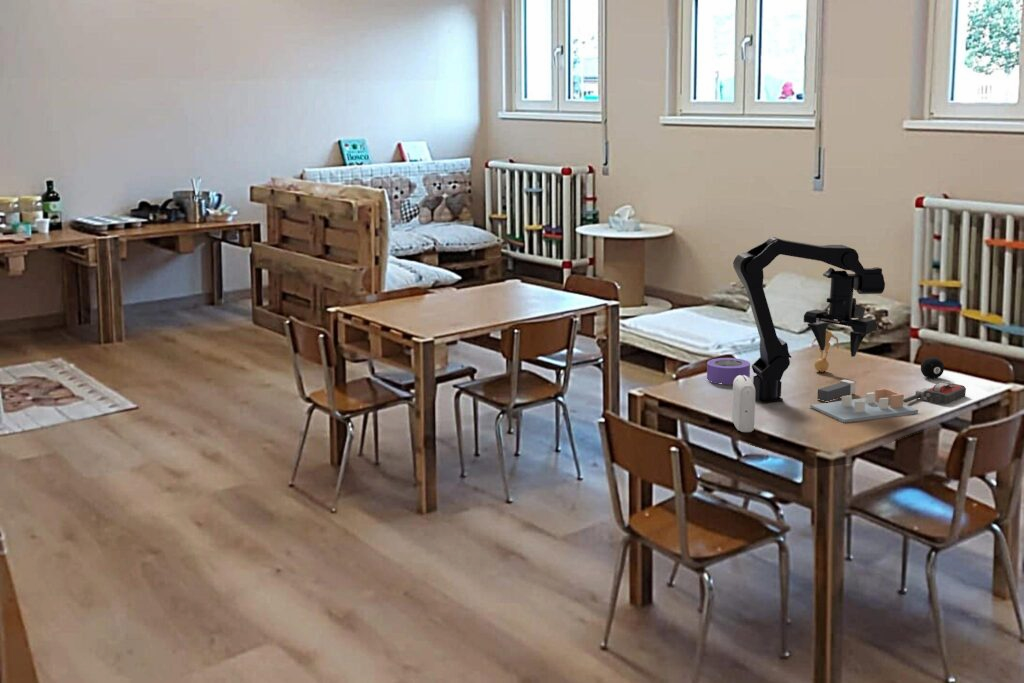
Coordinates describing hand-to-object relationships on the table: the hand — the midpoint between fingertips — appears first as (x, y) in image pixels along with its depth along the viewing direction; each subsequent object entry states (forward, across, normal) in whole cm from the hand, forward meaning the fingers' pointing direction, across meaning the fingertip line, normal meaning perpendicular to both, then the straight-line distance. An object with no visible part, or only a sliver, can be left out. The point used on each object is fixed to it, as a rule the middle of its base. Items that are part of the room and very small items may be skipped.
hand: (837, 353), depth 296 cm
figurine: (+12, +18, -20) cm, 30 cm away
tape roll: (+12, +30, +6) cm, 33 cm away
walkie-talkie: (+12, -19, -16) cm, 28 cm away
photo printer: (+12, 0, +38) cm, 40 cm away
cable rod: (+12, 0, 0) cm, 12 cm away
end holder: (+12, -15, -2) cm, 19 cm away
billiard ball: (+12, -7, -36) cm, 38 cm away
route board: (+12, -12, +6) cm, 18 cm away
